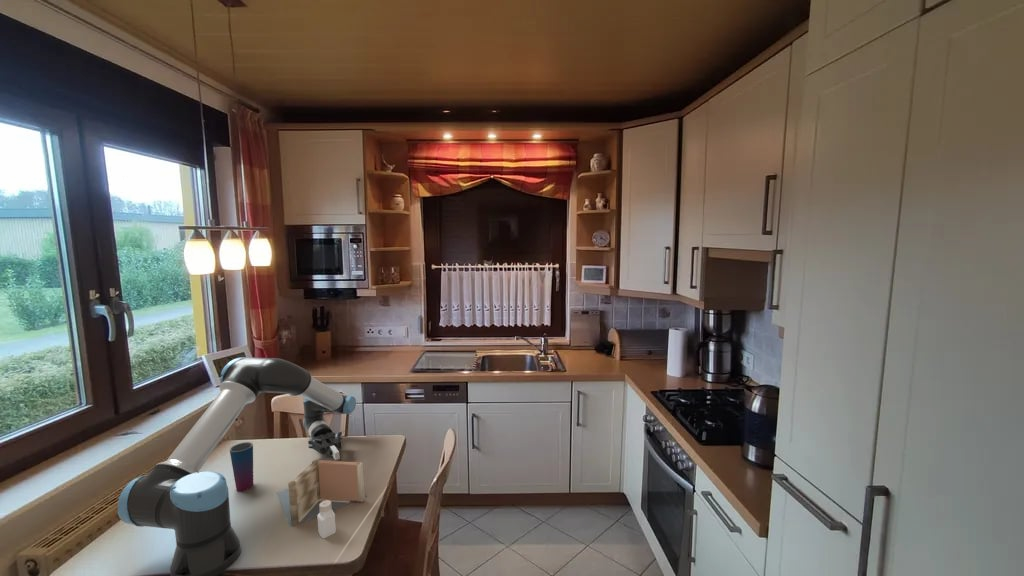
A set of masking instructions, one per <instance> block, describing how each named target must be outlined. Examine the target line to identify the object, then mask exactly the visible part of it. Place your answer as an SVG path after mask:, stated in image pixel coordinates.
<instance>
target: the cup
mask: <svg viewBox="0 0 1024 576" xmlns="http://www.w3.org/2000/svg"><path fill="white" fill-rule="evenodd" d="M229 454H230V455H229V456H230V461H231V467H232V471H233V477H234V483H235V484H234V485H235V490H236V491H237V492H244V491H245V492H246V491H248V490H250V489H252V488H253V487H254V444H253V442H251V441H244V442H240V443H237V444H234V445H232V446H231V447H230V448H229ZM252 486H253V487H252Z"/></svg>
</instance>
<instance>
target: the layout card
mask: <svg viewBox="0 0 1024 576" xmlns="http://www.w3.org/2000/svg"><path fill="white" fill-rule="evenodd" d="M276 494H277V497H278V499H279V502H280V504H281V507H282V510H283V512H284V515H285V518H286V520H287V522H288V525H289V528H292V527H294V526H296V525H299V524H302V523H304V522H306V521H309V520H312V519H314V518H317V515H318V514H319V513H320V507H319V504H320V503H321V502H323V501H325V500H330V501H331V507H332V509H331V510H333V511H334V510H336V509H339V508H343V507H344V506H347V505H349V504H353V503H354V502H356V501H351V500H336V499H321V498H320V499H319V500H317V501H316V503H315V504H314V505H313V506H312V507H311V508H310V509H309V510H308V511H307V512H306V513H305V515H304V516H303V517H302V518H301V519H300V520H299V523H298V524H296V525H291V514H290V501H289V488H286V489H283V490H279V491H277V492H276ZM366 497H367V495H366V494H365V492H364V499H365V498H366Z"/></svg>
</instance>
